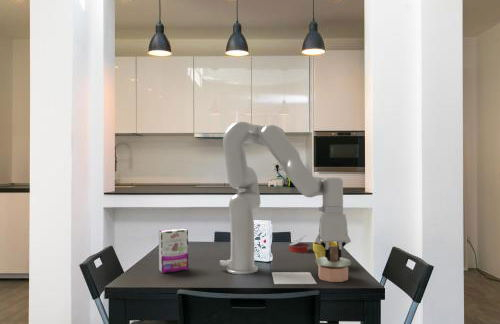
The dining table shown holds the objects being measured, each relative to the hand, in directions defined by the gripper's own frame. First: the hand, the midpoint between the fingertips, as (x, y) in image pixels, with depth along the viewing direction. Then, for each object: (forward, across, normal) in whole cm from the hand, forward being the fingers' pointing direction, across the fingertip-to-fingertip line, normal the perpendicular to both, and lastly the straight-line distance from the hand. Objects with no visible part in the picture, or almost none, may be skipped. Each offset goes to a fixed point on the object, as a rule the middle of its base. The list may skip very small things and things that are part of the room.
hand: (333, 259), depth 146 cm
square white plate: (+7, -15, 0) cm, 17 cm away
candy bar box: (+8, -62, +13) cm, 64 cm away
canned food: (+8, -6, +50) cm, 51 cm away
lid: (+1, 0, 0) cm, 1 cm away
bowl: (+7, 0, 0) cm, 7 cm away
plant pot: (+8, +1, +19) cm, 20 cm away
